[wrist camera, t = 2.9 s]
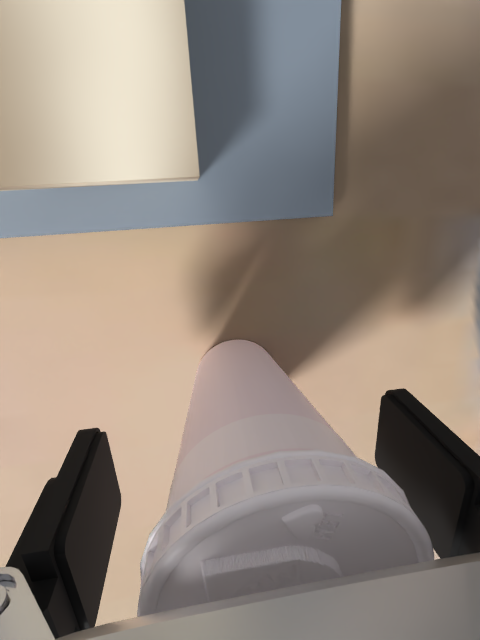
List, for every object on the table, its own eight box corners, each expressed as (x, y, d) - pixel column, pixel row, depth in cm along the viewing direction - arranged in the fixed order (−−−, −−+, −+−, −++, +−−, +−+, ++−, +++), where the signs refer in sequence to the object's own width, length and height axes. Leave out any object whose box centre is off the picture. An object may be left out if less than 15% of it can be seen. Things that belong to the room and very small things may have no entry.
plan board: (338, -277, 9) (354, -328, 9) (323, 214, 14) (332, 215, 13) (-560, -361, 7) (-668, -440, 6) (-234, 251, 12) (-270, 256, 11)
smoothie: (228, 281, 14) (566, 1073, 1) (329, 363, 17) (846, 993, 4) (137, 388, 16) (-132, 1373, 3) (242, 452, 18) (389, 1181, 5)
